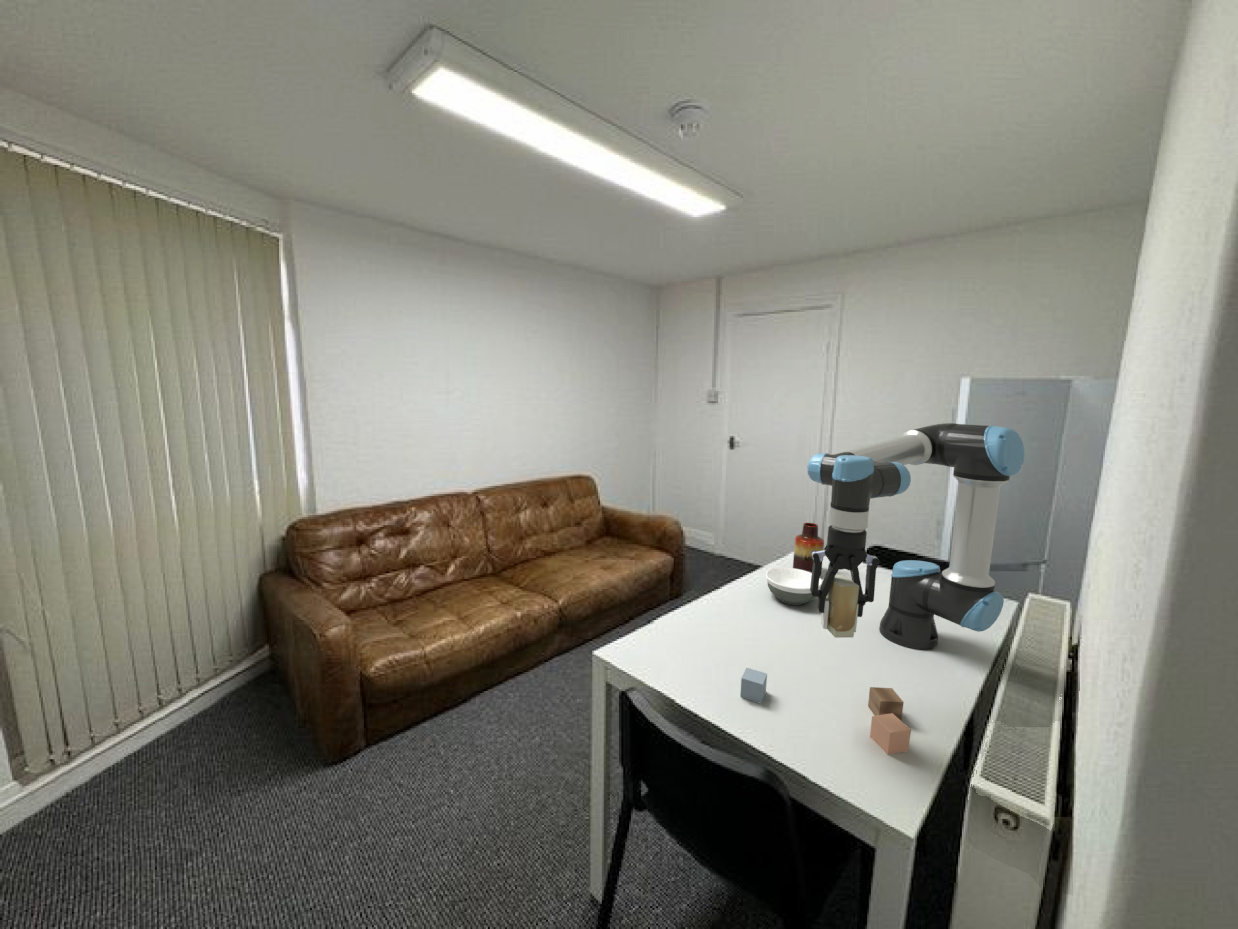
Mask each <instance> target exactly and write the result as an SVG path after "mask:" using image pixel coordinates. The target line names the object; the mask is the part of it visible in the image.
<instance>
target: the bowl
mask: <svg viewBox="0 0 1238 929" xmlns="http://www.w3.org/2000/svg"><path fill="white" fill-rule="evenodd" d="M811 576H812V573H810V572H807V571H804V570H800V569H795V568H793V567H775V568H770V569H769V570H768V571H766V573H765V577H766V581H767V587H768V589H769V591H770V593H771V594H773V595H774V596H775V597H776V598H778V599H779V600H780V601H781V602H783V603H785V604H787V605H793V606H799V605H803V604H805V603H808V602H810V601H812V600H814V599H815V598H816V597H814V596H812V594H811V591H810V585H811ZM822 582H823V580H822V579H821V577H820V578H819V586H818V590H820V587H821V585H822Z"/></svg>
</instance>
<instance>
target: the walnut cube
mask: <svg viewBox="0 0 1238 929" xmlns="http://www.w3.org/2000/svg"><path fill="white" fill-rule="evenodd" d="M868 694H869V695H868V703H867V707H868V708H869V710H870V711H871V713H872V714H873V716H877V715H884V714H891V713H893V714H894V715H895V716H896V717H897V718H898V719H900V720H901V721H902V718H903V710H904V701H903V700H902V698H901V697H900V695H899V694H897V692H896V691H895V690H894V688H892V687H879V686H878V687H877V686H876V687H875V686H874V687H873V686H869V692H868Z"/></svg>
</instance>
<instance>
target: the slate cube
mask: <svg viewBox="0 0 1238 929" xmlns="http://www.w3.org/2000/svg"><path fill="white" fill-rule="evenodd" d="M767 679H768V673H767V672H763V671H761V670H757V669H753V668H751V667H750V668H749V667H746V668H745V669H744V672H743V674H742V676H741V679H740V698H742V699H746V700H749V701H753V702H755V703H759V704H761V705H762V703H763V701H764V698H765V695H766V693H767V683H768V682H767V681H768V680H767Z"/></svg>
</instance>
